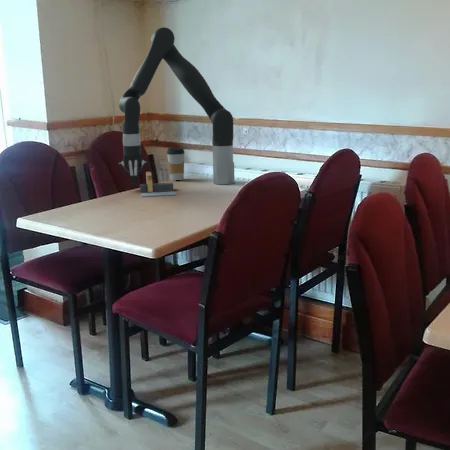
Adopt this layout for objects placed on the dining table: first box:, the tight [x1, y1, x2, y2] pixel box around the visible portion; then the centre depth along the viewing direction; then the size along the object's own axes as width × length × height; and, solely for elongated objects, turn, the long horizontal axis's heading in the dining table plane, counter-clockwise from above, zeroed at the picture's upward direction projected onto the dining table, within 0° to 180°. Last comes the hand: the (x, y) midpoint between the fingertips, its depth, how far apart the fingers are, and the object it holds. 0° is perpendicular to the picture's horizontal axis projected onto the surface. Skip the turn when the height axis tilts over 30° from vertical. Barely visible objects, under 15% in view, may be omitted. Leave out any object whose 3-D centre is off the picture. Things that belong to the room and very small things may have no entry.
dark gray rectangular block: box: [139, 181, 174, 193], centre depth 248 cm, size 14×4×3 cm, turn 100°
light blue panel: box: [140, 191, 177, 198], centre depth 239 cm, size 14×6×1 cm, turn 100°
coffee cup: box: [166, 147, 185, 182], centre depth 270 cm, size 8×8×15 cm
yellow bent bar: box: [145, 171, 154, 193], centre depth 248 cm, size 2×10×7 cm, turn 10°
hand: (134, 183), depth 251 cm, fingers closed
